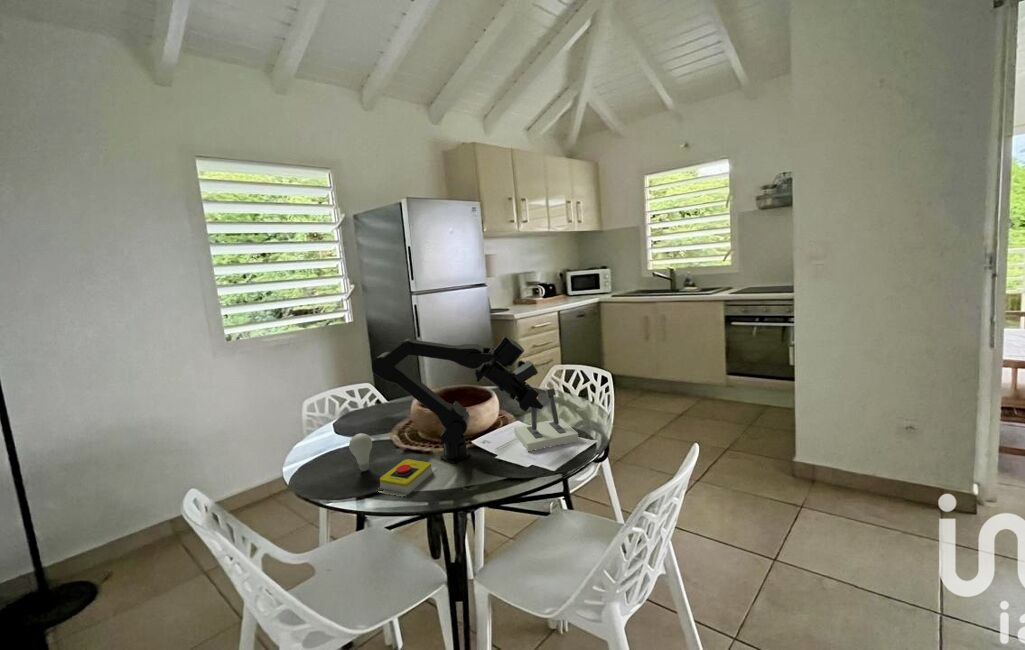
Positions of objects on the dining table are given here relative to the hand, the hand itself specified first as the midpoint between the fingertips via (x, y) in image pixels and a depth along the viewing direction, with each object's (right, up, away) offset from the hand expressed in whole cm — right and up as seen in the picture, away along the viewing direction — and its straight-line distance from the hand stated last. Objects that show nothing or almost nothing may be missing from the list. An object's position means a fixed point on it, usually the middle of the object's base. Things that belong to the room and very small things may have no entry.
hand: (542, 407), depth 126 cm
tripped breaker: (-2, -8, +6) cm, 10 cm away
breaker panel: (+2, -11, +7) cm, 13 cm away
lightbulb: (-50, -17, -4) cm, 53 cm away
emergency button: (-36, -18, -11) cm, 42 cm away
